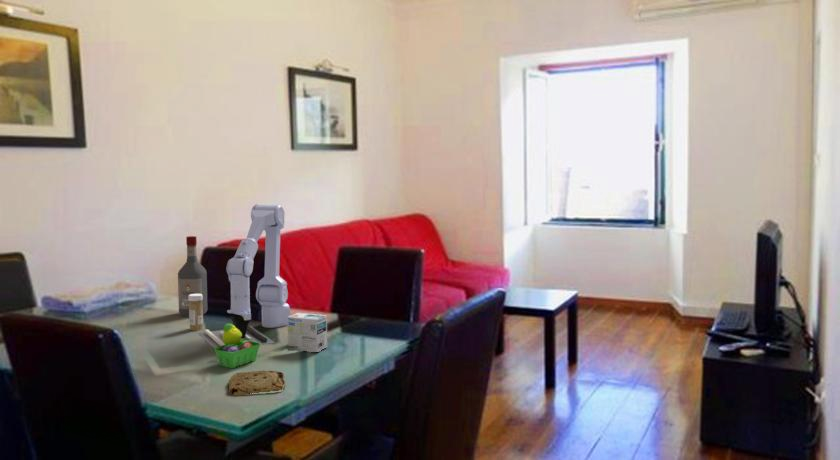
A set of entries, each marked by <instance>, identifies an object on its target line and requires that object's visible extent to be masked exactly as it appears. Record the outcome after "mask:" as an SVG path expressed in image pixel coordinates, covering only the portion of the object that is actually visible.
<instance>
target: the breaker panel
mask: <svg viewBox="0 0 840 460" xmlns="http://www.w3.org/2000/svg"><path fill="white" fill-rule="evenodd" d="M248 326H249V325H248ZM249 327H251V328H252V329H254V330H255V331H257V332H258V333H260V334H261V335H263V336H264V337H266V338H267V339H268V340H267V342H263V341H262V340H261V339H259V338H258V337H256V336H255V335H253V334H252V333H251V332H249V331H248V330H247V331H246V335H245V338H241V340H248V341H253V342H257V343H260V346H264V345H268V344H270V345H271V344H275V343H276V342H275V341H273V340H272V339H271V338H269V337H268V336H266V335H265V334H263V333H262V332H260V331H259V330H257V329H256V328H254V327H253V326H249ZM223 330H224V329H220V330H212V331H210V332H212V333H213V334H214V335H215V336H216V337H218V338H219V339H220V340H221V341H222V342H223V338H222V337H223ZM197 334H198V335H199V336H200V337H201V338H202V339H203V340H205V342H207V343H208V344H209V345H210V346H211V347H212V348H213V350H214V349H215V348H217V347H220V345H218V344H217V343H216V342H215V341H214V340H213V339H212V338H210V337H209V336H208V335H207V334H206V333H205V331H204V332H198V333H197ZM223 343H224V342H223Z"/></svg>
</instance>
